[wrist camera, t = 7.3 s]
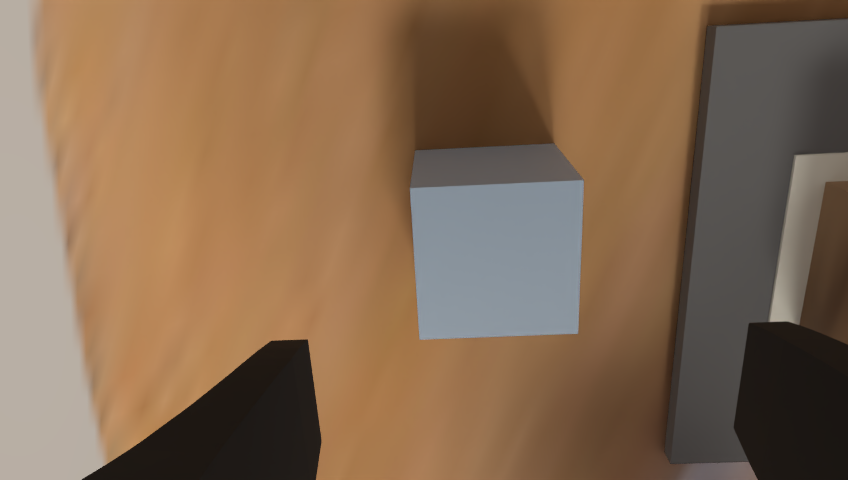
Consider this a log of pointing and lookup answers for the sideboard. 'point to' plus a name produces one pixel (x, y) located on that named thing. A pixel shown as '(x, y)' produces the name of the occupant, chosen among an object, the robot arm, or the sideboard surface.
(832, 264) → the walnut block
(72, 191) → the sideboard surface
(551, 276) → the blue block
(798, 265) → the mat
